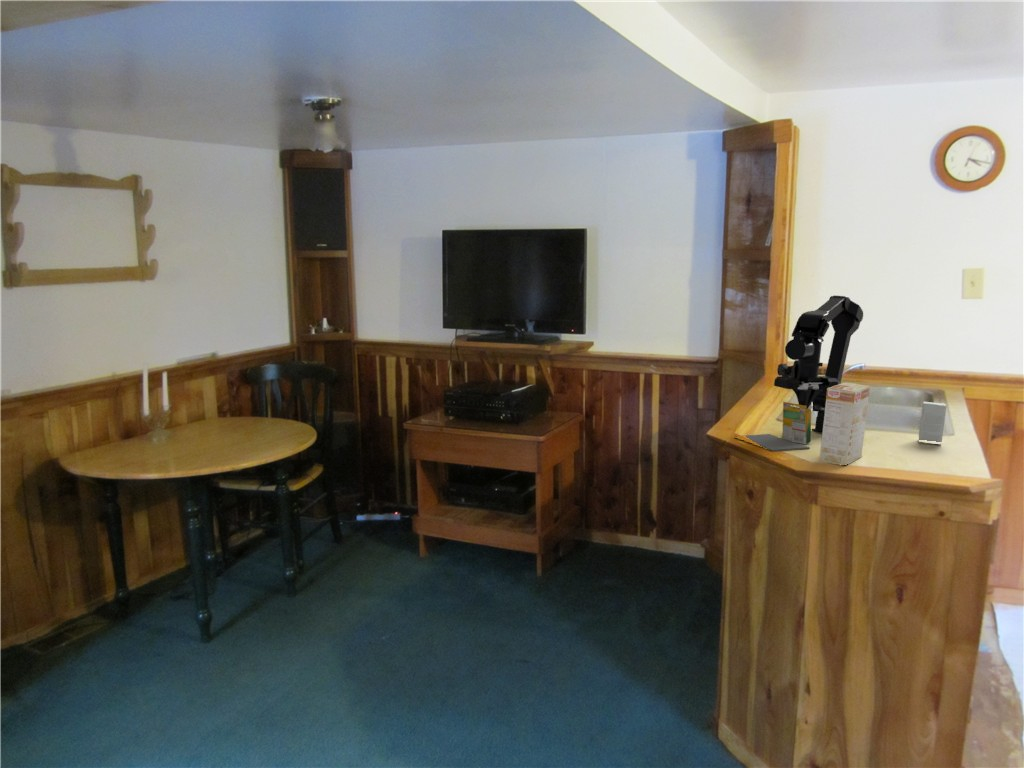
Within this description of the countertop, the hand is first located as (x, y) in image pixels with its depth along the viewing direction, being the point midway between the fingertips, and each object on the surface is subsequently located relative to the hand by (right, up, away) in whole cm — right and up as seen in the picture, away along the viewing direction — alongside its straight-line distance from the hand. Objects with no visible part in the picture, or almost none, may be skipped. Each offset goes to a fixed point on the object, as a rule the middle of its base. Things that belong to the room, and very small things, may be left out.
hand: (802, 412), depth 220 cm
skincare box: (+41, -10, +8) cm, 43 cm away
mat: (-10, -9, -3) cm, 14 cm away
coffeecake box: (+4, -12, -17) cm, 21 cm away
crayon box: (-1, -9, +1) cm, 9 cm away
